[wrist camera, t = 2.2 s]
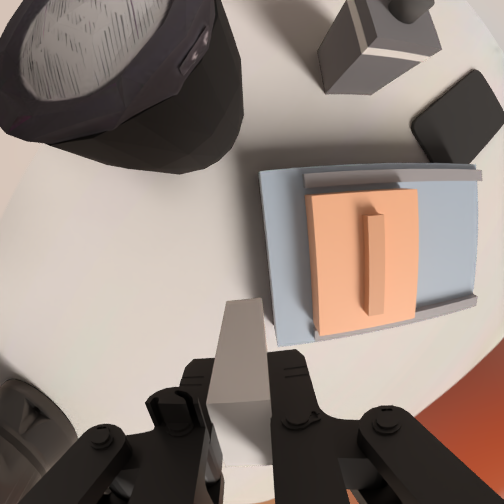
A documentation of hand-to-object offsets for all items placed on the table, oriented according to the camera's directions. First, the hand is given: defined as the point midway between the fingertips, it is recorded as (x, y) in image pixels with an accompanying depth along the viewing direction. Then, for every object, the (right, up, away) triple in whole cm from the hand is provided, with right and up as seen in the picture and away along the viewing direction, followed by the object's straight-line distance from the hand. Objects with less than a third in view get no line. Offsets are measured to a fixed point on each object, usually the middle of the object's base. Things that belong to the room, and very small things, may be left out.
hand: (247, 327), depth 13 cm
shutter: (+8, +3, +9) cm, 13 cm away
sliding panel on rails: (+11, +4, +13) cm, 18 cm away
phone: (+23, +17, +11) cm, 31 cm away
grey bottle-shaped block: (+9, +20, +10) cm, 24 cm away
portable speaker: (-5, +14, +11) cm, 19 cm away
